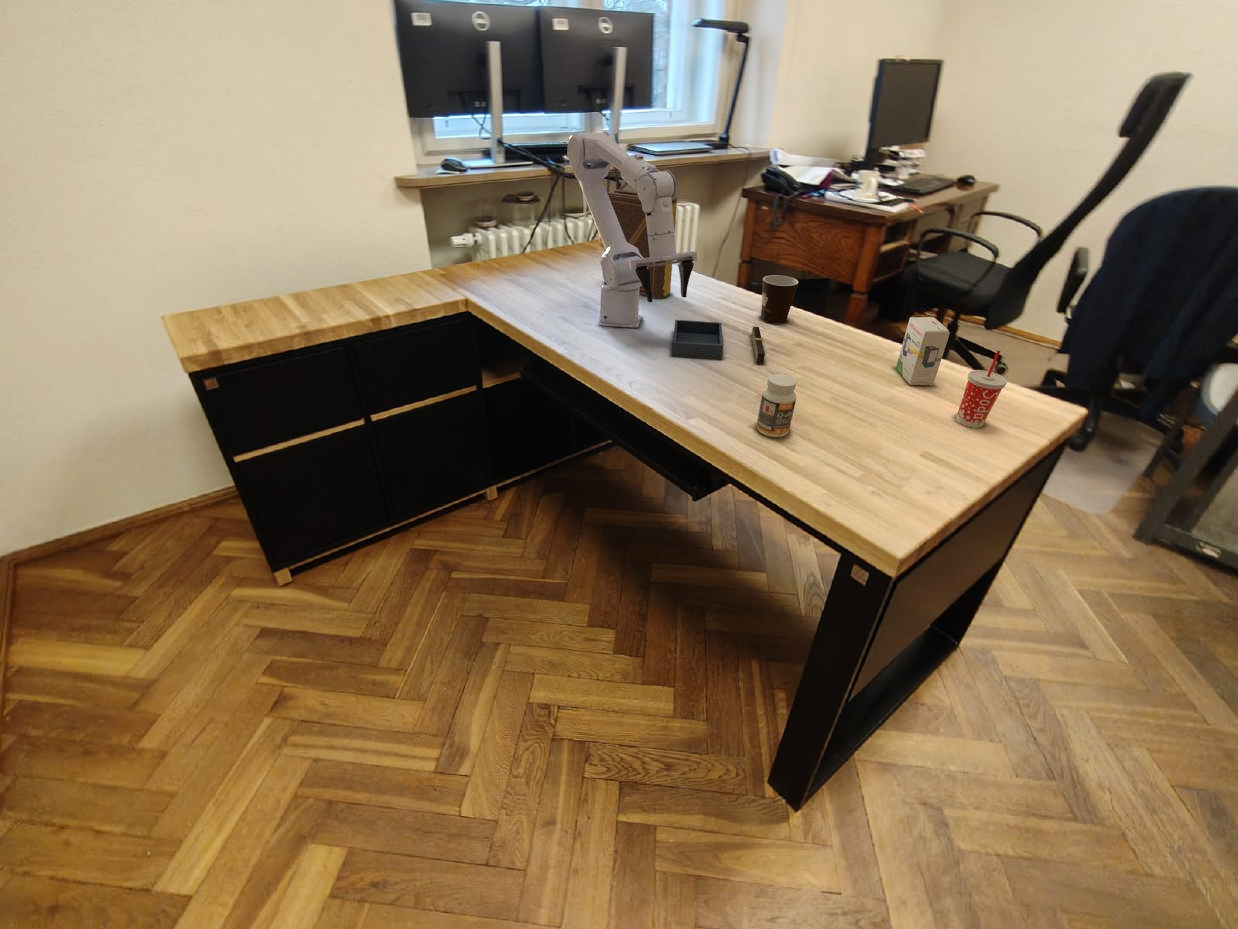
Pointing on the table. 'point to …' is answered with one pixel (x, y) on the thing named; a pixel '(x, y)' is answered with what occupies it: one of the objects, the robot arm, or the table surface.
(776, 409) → the pill bottle
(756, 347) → the stop rail
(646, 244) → the book
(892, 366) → the table surface
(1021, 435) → the table surface
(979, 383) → the beverage cup
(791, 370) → the table surface
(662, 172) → the robot arm
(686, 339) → the tray
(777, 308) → the coffee mug
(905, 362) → the ink box
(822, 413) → the table surface
